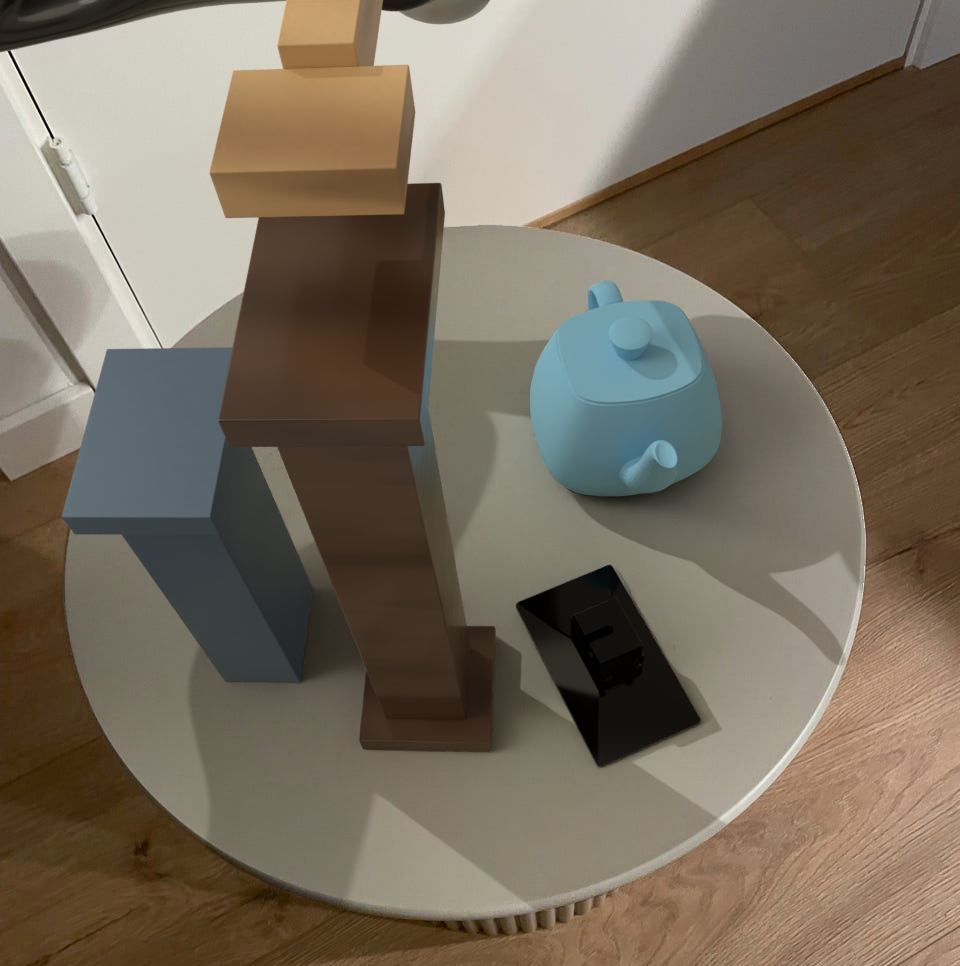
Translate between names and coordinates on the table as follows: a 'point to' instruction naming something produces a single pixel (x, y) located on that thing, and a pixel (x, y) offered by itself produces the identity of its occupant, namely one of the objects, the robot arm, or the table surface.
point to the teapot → (624, 398)
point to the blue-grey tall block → (193, 509)
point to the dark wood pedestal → (366, 453)
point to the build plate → (607, 665)
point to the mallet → (318, 122)
